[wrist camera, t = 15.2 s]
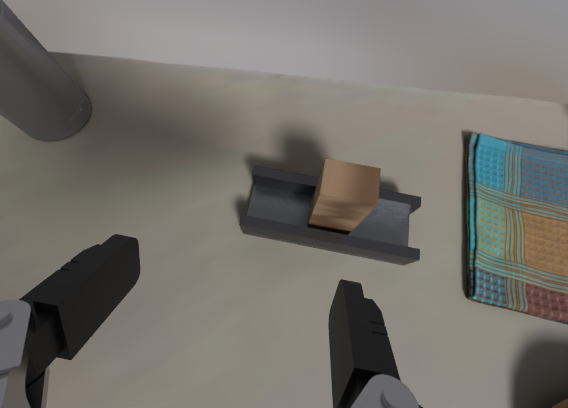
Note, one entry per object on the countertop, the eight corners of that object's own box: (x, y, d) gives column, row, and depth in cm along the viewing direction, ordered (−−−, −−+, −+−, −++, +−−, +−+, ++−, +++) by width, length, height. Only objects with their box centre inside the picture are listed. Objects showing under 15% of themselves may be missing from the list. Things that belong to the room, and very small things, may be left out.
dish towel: (581, 163, 41) (600, 154, 38) (607, 336, 33) (633, 338, 30) (462, 137, 42) (473, 126, 39) (458, 299, 34) (472, 298, 31)
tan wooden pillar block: (306, 228, 35) (320, 193, 24) (310, 202, 36) (325, 158, 25) (347, 235, 34) (377, 204, 24) (350, 209, 36) (380, 168, 25)
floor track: (243, 233, 35) (239, 224, 31) (256, 179, 38) (254, 165, 34) (403, 265, 34) (419, 259, 31) (406, 208, 37) (421, 197, 33)
